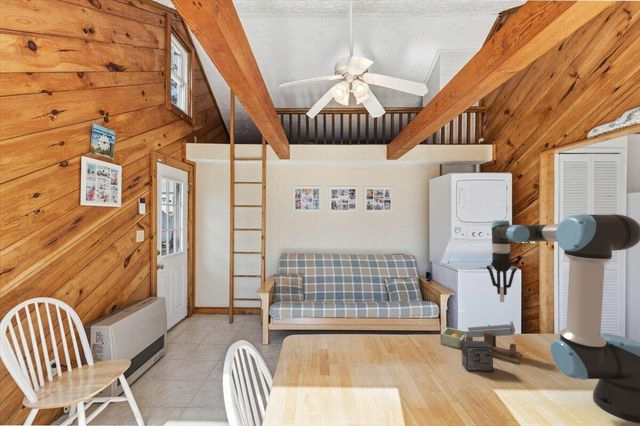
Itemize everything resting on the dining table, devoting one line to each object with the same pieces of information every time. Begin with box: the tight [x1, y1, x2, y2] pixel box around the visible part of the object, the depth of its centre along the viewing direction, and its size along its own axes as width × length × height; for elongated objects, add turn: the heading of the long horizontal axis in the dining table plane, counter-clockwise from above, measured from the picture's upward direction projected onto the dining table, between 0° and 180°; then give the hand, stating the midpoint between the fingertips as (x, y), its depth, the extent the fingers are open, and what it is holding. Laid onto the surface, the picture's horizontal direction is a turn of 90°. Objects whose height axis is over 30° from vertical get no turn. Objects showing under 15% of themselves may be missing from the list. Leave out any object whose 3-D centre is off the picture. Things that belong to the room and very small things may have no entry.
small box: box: [461, 340, 494, 373], centre depth 128 cm, size 11×6×10 cm, turn 84°
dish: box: [440, 326, 466, 350], centre depth 153 cm, size 11×9×5 cm
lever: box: [464, 320, 516, 338], centre depth 145 cm, size 14×20×4 cm
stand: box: [460, 324, 521, 364], centre depth 143 cm, size 11×23×11 cm, turn 52°
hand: (502, 301), depth 146 cm, fingers closed
